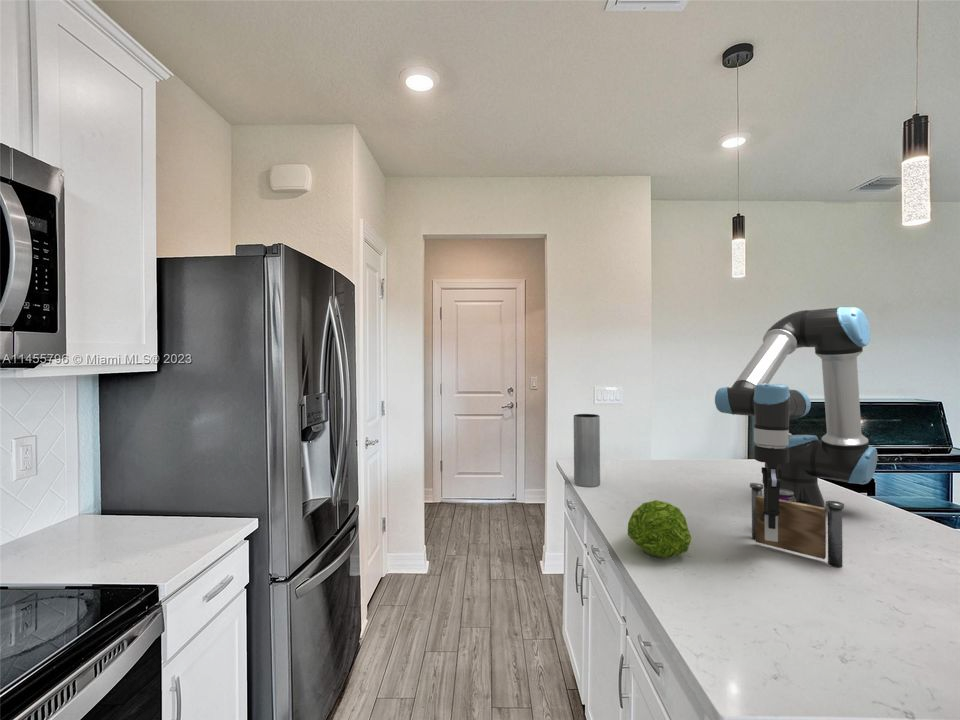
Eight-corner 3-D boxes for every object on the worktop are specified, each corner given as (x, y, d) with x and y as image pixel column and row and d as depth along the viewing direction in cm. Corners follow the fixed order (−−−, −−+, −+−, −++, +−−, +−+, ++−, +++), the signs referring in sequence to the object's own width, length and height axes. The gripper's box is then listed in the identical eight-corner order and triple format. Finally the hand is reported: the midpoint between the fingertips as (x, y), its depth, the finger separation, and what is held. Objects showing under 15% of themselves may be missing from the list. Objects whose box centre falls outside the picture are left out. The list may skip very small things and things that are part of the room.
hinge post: (830, 560, 117) (830, 500, 117) (847, 566, 114) (847, 504, 114) (822, 563, 116) (822, 502, 116) (839, 569, 113) (839, 506, 112)
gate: (825, 557, 117) (825, 507, 117) (822, 560, 115) (822, 510, 115) (757, 540, 128) (757, 495, 128) (754, 543, 126) (753, 497, 126)
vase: (602, 487, 185) (602, 416, 185) (576, 487, 185) (576, 417, 185) (596, 480, 195) (596, 413, 195) (572, 480, 195) (571, 413, 195)
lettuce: (696, 540, 134) (685, 489, 137) (694, 562, 112) (681, 501, 115) (641, 543, 140) (632, 494, 143) (629, 564, 118) (618, 507, 121)
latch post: (754, 535, 134) (754, 482, 134) (766, 539, 131) (765, 485, 131) (747, 537, 133) (747, 483, 133) (758, 541, 130) (758, 486, 130)
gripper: (793, 451, 113) (792, 552, 113) (785, 442, 125) (785, 534, 125) (756, 448, 116) (756, 546, 116) (752, 440, 128) (751, 529, 128)
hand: (771, 540), depth 120 cm, fingers closed
